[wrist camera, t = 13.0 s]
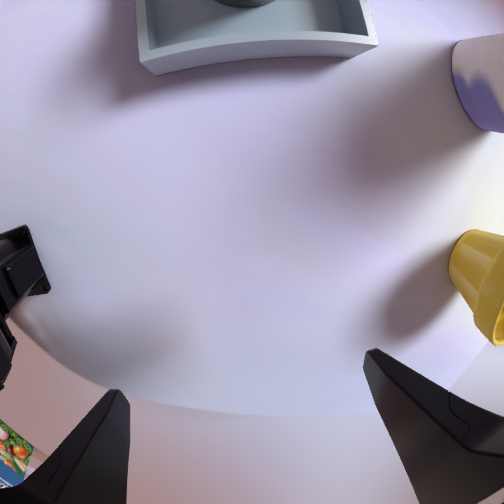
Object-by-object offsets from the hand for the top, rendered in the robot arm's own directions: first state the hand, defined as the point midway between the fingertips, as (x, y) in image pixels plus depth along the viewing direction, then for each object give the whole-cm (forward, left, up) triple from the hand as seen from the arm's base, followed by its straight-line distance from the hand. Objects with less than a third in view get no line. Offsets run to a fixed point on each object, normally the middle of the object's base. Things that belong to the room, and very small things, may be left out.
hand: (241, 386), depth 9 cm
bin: (+4, +20, -13) cm, 24 cm away
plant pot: (+25, -6, -13) cm, 29 cm away
